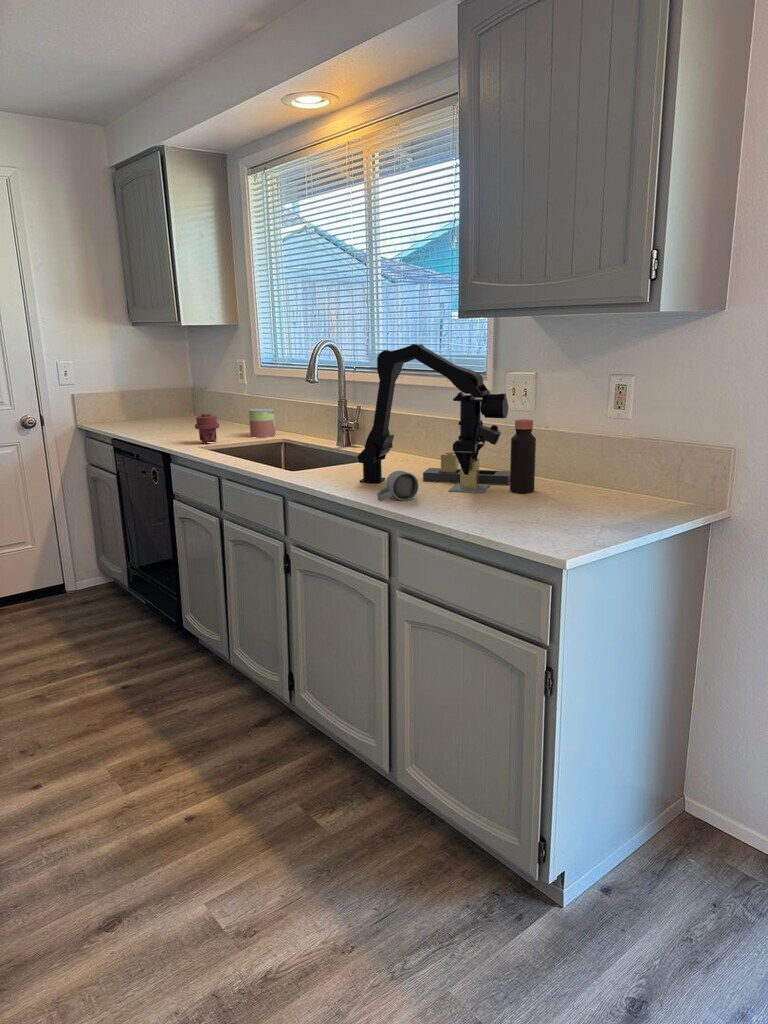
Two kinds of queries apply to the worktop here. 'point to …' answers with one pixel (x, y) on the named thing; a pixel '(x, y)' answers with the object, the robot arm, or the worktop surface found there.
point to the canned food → (262, 422)
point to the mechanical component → (207, 427)
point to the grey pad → (480, 489)
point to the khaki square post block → (449, 463)
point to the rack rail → (436, 475)
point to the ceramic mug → (399, 486)
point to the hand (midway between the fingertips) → (469, 471)
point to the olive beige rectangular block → (470, 476)
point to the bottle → (523, 457)
